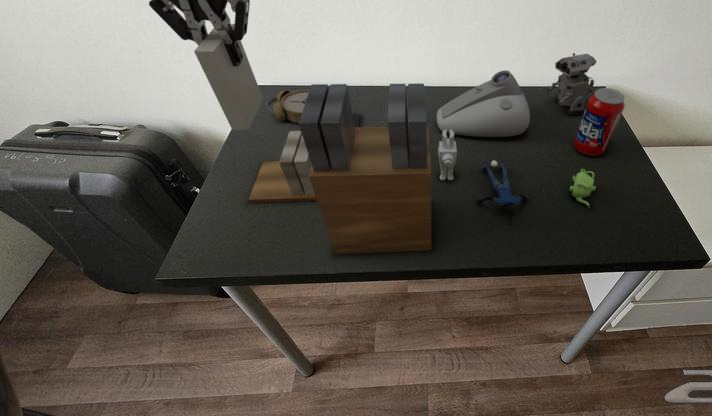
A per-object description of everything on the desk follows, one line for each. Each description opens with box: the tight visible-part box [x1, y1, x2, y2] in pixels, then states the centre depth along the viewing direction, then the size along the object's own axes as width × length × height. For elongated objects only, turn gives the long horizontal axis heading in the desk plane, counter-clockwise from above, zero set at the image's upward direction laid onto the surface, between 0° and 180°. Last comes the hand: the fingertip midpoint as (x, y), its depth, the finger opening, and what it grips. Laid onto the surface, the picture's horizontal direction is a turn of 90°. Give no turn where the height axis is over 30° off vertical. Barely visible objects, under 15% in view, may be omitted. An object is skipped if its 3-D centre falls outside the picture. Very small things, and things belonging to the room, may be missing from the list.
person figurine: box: [477, 159, 528, 217], centre depth 79 cm, size 11×4×18 cm
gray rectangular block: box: [193, 23, 264, 131], centre depth 62 cm, size 10×3×14 cm, turn 5°
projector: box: [436, 69, 531, 138], centre depth 93 cm, size 22×23×15 cm
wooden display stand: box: [247, 130, 317, 204], centre depth 77 cm, size 12×14×10 cm
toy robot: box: [437, 129, 458, 181], centre depth 80 cm, size 4×8×12 cm, turn 3°
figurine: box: [546, 52, 597, 117], centre depth 99 cm, size 9×12×15 cm
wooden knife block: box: [298, 83, 432, 255], centre depth 63 cm, size 12×18×28 cm, turn 95°
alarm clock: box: [266, 89, 310, 124], centre depth 97 cm, size 11×5×15 cm
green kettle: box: [569, 168, 597, 208], centre depth 79 cm, size 6×5×6 cm
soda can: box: [573, 87, 626, 157], centre depth 87 cm, size 8×8×15 cm
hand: (227, 63), depth 60 cm, fingers closed on gray rectangular block, 3 cm apart
